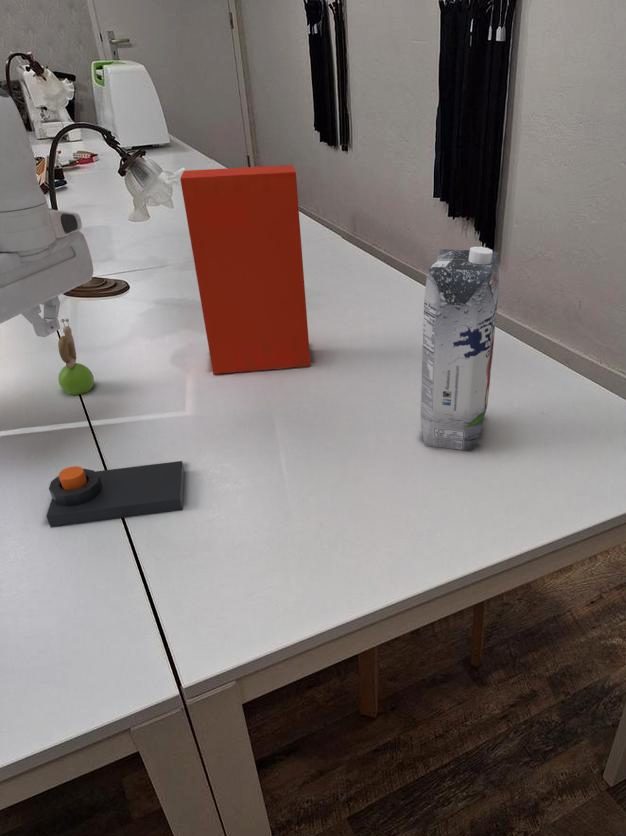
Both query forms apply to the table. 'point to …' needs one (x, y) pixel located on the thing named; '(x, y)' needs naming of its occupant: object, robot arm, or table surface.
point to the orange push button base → (118, 494)
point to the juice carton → (458, 346)
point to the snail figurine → (72, 366)
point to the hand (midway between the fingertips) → (48, 333)
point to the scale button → (72, 478)
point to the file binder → (249, 266)
